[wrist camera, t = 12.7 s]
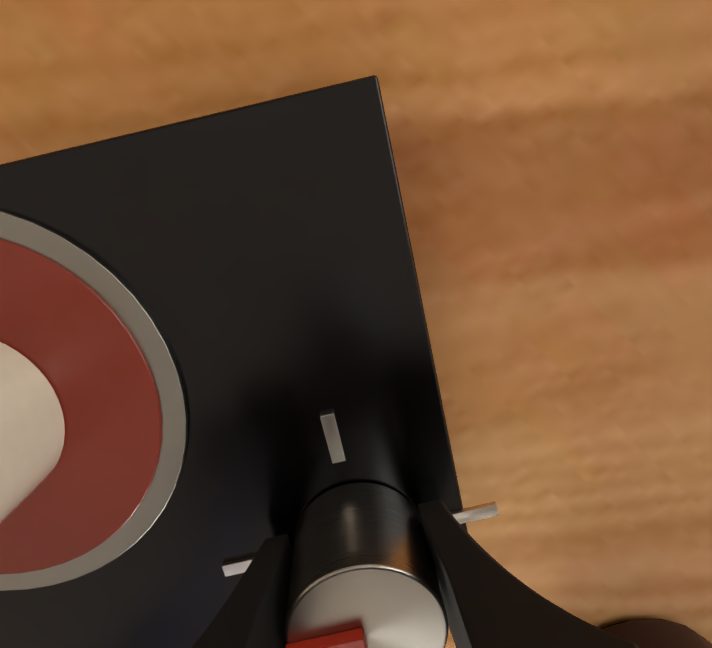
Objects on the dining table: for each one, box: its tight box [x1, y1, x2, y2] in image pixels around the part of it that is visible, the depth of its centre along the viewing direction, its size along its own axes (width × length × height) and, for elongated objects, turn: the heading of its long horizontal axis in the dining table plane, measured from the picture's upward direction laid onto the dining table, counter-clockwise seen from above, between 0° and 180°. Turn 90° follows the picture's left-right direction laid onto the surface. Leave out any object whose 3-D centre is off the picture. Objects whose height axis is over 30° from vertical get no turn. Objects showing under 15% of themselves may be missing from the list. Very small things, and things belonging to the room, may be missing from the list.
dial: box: [284, 482, 448, 648], centre depth 12 cm, size 4×4×4 cm
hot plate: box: [0, 75, 498, 648], centre depth 15 cm, size 19×15×3 cm
